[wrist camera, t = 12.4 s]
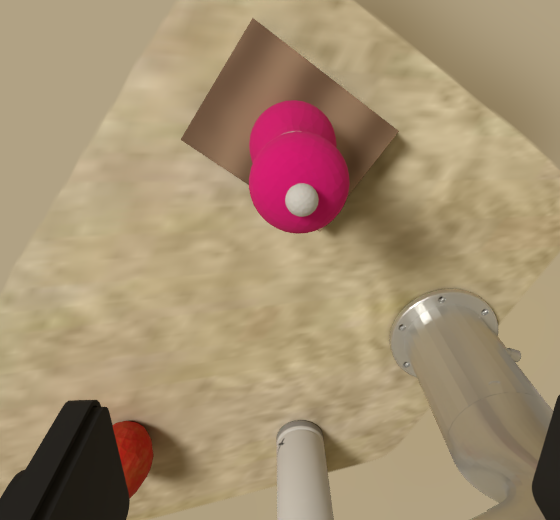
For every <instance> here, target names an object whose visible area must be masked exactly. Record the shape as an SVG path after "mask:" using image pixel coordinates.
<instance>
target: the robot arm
mask: <svg viewBox="0 0 560 520" xmlns="http://www.w3.org/2000/svg"><path fill="white" fill-rule="evenodd" d="M389 341H390V348H391V351H392V354H393V357H394V358H395V360H396V362H397V364H398V365H399V366H400V367H401V368H402V369H403V370H404V371H405V372H407V373H408V374H410V375H412V376H414V377H416V378H417V379H418V381H419V383H420V385H421V388H422V390H423V392H424V394H425V397H426V399H427V401H428V404H429V406H430V408H431V410H432V413H433V415H434V417H435V419H436V422H437V424H438V426H439V429H440V431H441V433H442V435H443V438H444V440H445V442H446V445H447V447H448V449H449V452H450V454H451V456H452V458H453V460H454V462H455V464H456V466H457V468H458V469H459V471H460V472H461V474H462V475H463V476H464V477H465V479H466V480H467V481H469V482H470V483H471V484H472V485H473V486H474V487H475V488H476V489H478V490H479V491H480V492H482V493H483V494H485V495H487V496H488V497H490V498H492V499H493V500H495V501H497V502H499V504H498V505H496V506H494V507H492V508H490V509H488V510H487V512H485V513H482V514H480V515H478V516H476V517H474V518H472V519H470V520H560V395H559V396H558V398H557V401H556V404H555V407H554V411H553V410H552V409H551V408H550V406H549V405H548V404H547V403H546V402H545V400H544V399H543V398H542V397H541V395H540V394H539V393H538V391H537V390H536V389H535V387H534V386H533V385H532V384H531V382H530V381H529V380H528V378H527V377H526V376H525V375H524V373H523V372H522V371H521V369H520V368H519V367H518V366H517V364H516V363H515V362H518V361H519V360H520V359H521V353H520V351H518V350H514V349H510V348H506V347H505V345H504V344H503V343H502V342H501V341H500V339H499V338H498V322H497V318H496V316H495V314H494V312H493V310H492V309H491V308H490V306H489V305H488V304H487V303H486V302H485V301H484V300H483V299H482V298H480V297H479V296H477V295H475V294H473V293H472V292H468V291H465V290H461V289H441V290H436V291H432V292H429V293H427V294H424V295H422V296H420V297H418V298H416V299H415V300H413V301H411V302H410V303H409V304H408V305H407V306H406V307H404V308H403V310H402V311H401V312H400V313H399V314H398V316H397V317H396V319H395V321H394V323H393V325H392V328H391V331H390V340H389ZM128 510H129V492H128V488H127V484H126V479H125V475H124V471H123V467H122V463H121V459H120V455H119V451H118V446H117V442H116V438H115V434H114V430H113V426H112V422H111V418H110V413H109V410H108V408H107V407H101V405H100V403H99V402H98V400H77V401H68V402H66V403H65V405H64V406H63V407H62V409H61V411H60V412H59V414H58V416H57V417H56V419H55V421H54V423H53V424H52V426H51V428H50V429H49V431H48V433H47V434H46V436H45V438H44V439H43V441H42V443H41V444H40V446H39V448H38V449H37V451H36V453H35V455H34V456H33V458H32V460H31V461H30V463H29V465H28V466H27V468H26V470H23V471H21V472H19V473H18V474H17V475H15V477H14V478H13V479H12V481H11V482H10V483H9V485H8V487H7V488H6V490H5V491H4V493H3V495H2V496H1V498H0V520H126V517H127V514H128Z"/></svg>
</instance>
